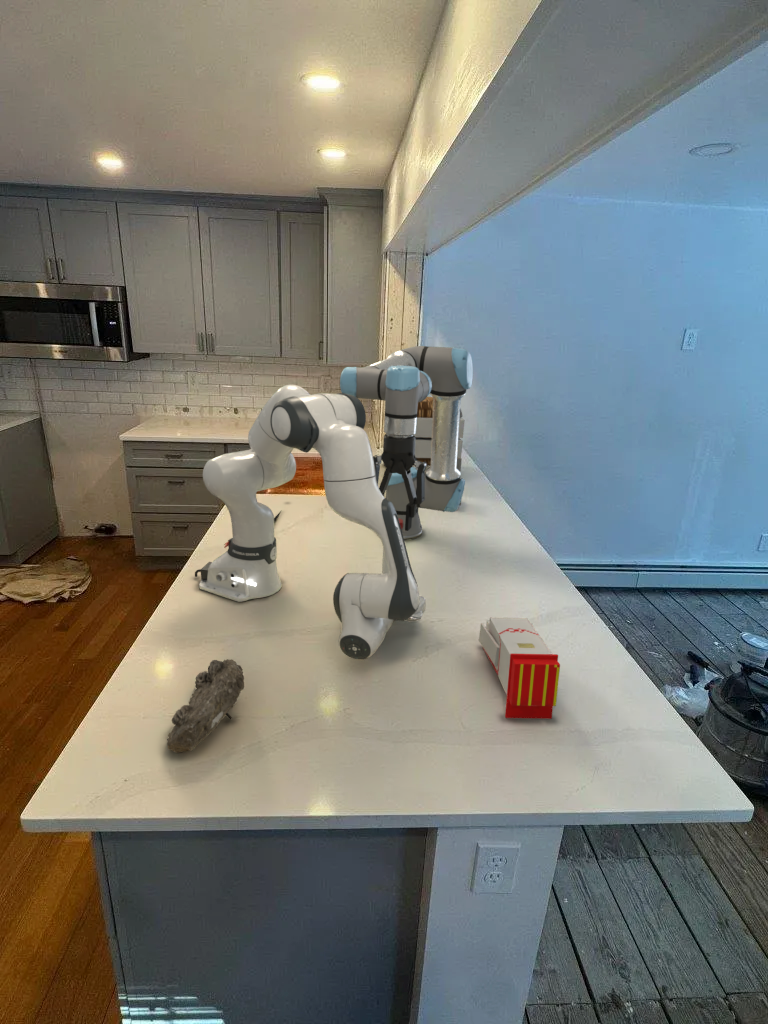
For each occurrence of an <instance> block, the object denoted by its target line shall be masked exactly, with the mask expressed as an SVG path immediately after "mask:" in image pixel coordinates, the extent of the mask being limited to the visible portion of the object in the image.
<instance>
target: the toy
mask: <svg viewBox="0 0 768 1024" xmlns="http://www.w3.org/2000/svg"><path fill="white" fill-rule="evenodd" d="M478 642H479V644H480V645H481V647H482V649H483V651H484V653H485V655H486V656H487V659H488V661H489V662H490V664H491V666H492V667H493V669H494V671H495V673H496V675H497V678H498V679H499V682H500V684H501V686H502V688H503V690H504V692H505V694H506V695H505V696H506V701H505V711H504V717H505V719H535V720H536V719H537V720H538V719H539V720H540V719H541V720H552V719H553V710H554V707H556V706H557V699H558V691H559V682H560V681H559V679H560V670H561V664H560V662H559V655H558V654H555V653H552V651H551V649H550V648H549V647H548V645H547V643H545V641H544V640H543V638H542V637H541V636H540V634H539V633H538V631H537V630H536V628H535V626H534V625H533V623H532V622H531V621H530V620H529V618H528V617H493V616H492V617H489V619H486V623H485V624H484V623H482V622H481V623H480V627H479V635H478Z"/></svg>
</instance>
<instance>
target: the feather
mask: <svg viewBox="0 0 768 1024" xmlns="http://www.w3.org/2000/svg"><path fill="white" fill-rule="evenodd" d="M281 512H282V510H280V512H279V513H277V514H276V516H274V524H275V523H276V521H277V520H278V518H279V516H280V514H281Z"/></svg>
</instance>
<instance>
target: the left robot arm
mask: <svg viewBox="0 0 768 1024" xmlns="http://www.w3.org/2000/svg"><path fill="white" fill-rule="evenodd" d="M366 414H367V413H366V409H365V406H364V404H363V403H362V401H361V400H360V398H357V397H355V396H352V395H349V394H344V393H342V392H338V393H330V392H329V393H327V392H325V393H324V392H323V393H322V392H319V393H314V394H310V392H309V391H308V390H306V389H305V388H303V387H302V386H300V385H296V384H285V385H283V386H281V387H279V389H277V390H276V391H275V392H274V393H273V394H272V396H270V398H268V400H267V401H266V403H265V404H264V405H263V407H262V409H261V410H260V412H259V413H258V415H257V417H256V419H255V421H254V422H253V424H252V426H251V427H250V429H249V430H248V434H247V441H248V445H249V448H250V449H246V450H240V451H233V452H227V453H224V454H223V453H222V454H221V455H219V456H215V457H214V458H210V459H208V460H207V461H206V463H205V464H204V467H203V470H202V481H203V484H204V487H205V489H206V490H207V491H208V492H209V493H210V495H212V496H214V497H216V498H218V499H219V500H220V501H221V502H222V503H223V504H224V505H225V506H226V508H227V510H228V512H229V513H228V514H229V516H230V522H231V530H232V531H231V532H232V537H231V538H229V539H228V540H227V542H224V543H223V546H224V549H226V548H227V547H228V548H227V550H226V551H224V552H223V553H221V554H220V555H219V556H217V557H216V558H215V559H214V560H213V561H208V562H207V563H206V564H204V566H203V567H201V568H199V569H197V570H195V571H194V577H195V578H197V577H198V573H200V581H199V583H198V584H199V585H198V589H200V590H202V591H205V592H208V593H211V594H214V595H217V596H219V597H223V598H226V599H229V600H232V601H235V602H238V603H241V602H245V601H249V600H253V599H262V598H266V597H269V596H273V595H275V594H276V593H278V592H279V590H281V588H282V581H281V578H280V575H279V569H278V565H277V557H278V555H277V553H278V551H277V549H278V548H277V538H276V537H275V523H274V518H275V514H274V512H273V510H272V509H271V508H270V507H269V506H268V505H266V504H264V503H262V502H258V498H257V492H261V491H266V490H271V489H274V488H278V487H280V486H283V485H284V484H286V483H288V482H290V481H292V480H293V479H294V477H295V475H296V471H297V462H296V458H295V457H294V455H293V453H292V452H293V450H294V449H297V450H299V451H300V452H303V453H305V454H307V453H309V452H310V451H311V450H312V449H314V450H315V451H316V452H317V453H318V454H319V456H320V458H321V462H322V474H323V476H322V478H323V486H324V494H325V499H326V502H327V505H328V506H329V507H330V509H331V510H332V511H333V512H334V513H335V514H336V515H338V516H339V517H340V518H343V519H344V520H347V521H349V522H352V523H355V524H357V525H359V526H362V527H364V528H367V529H368V530H370V531H372V532H373V533H375V534H376V535H377V536H378V538H379V539H380V541H381V544H382V549H383V548H384V552H385V556H386V560H387V564H388V568H389V572H390V573H389V574H382V573H372V572H371V573H369V572H347V573H345V574H344V575H343V576H342V577H340V579H339V581H338V582H337V583H336V585H335V588H334V589H333V590H334V591H333V595H332V602H333V609H334V612H335V614H336V617H337V618H338V620H339V622H340V623H341V628H340V629H341V630H340V634H339V638H338V646H339V649H340V651H341V652H342V653H343V654H344V655H345V656H346V657H348V658H350V659H352V660H358V661H359V660H360V661H361V660H367V659H369V658H370V657H372V656H373V655H374V654H375V653H376V652H377V650H378V649H379V647H380V646H381V644H382V643H383V642H384V640H385V638H386V634H387V633H388V631H389V630H390V628H391V627H392V625H393V623H394V621H401V622H405V621H406V622H416V621H420V620H421V619H422V617H423V615H424V613H425V611H426V608H427V607H426V606H427V599H426V598H425V597H424V596H423V595H421V594H420V590H419V587H418V582H417V580H416V577H415V573H414V571H413V569H412V566H411V565H412V564H411V562H410V557H409V554H408V549H407V546H406V540H405V541H404V538H403V534H402V530H401V526H400V523H399V519H398V516H397V513H396V510H395V508H394V506H393V504H392V502H390V501H389V500H387V499H385V498H386V497H385V496H383V495H382V493H381V492H380V490H379V487H380V486H379V484H378V485H377V481H376V473H375V465H374V459H373V456H374V455H373V450H372V446H371V445H372V444H371V441H370V438H369V435H368V433H367V431H366V430H365V427H366V423H367V422H366V421H367V415H366Z"/></svg>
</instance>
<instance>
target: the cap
mask: <svg viewBox="0 0 768 1024" xmlns="http://www.w3.org/2000/svg"><path fill="white" fill-rule="evenodd" d="M398 519H399V518H398ZM399 523H400V526H401V529H402V528H403V520H402V519H399Z"/></svg>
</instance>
